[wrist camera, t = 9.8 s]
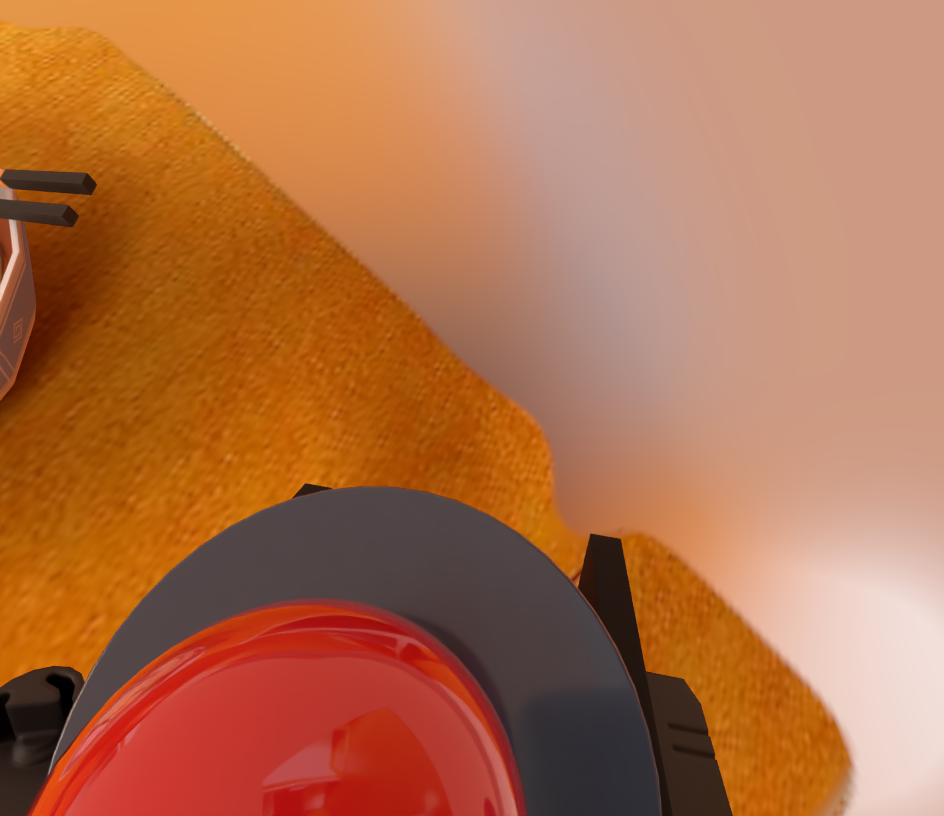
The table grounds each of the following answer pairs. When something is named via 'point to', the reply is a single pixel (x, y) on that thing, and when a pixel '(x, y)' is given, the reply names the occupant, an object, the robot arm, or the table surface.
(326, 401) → the table surface
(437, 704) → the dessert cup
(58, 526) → the table surface
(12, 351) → the ramen bowl
